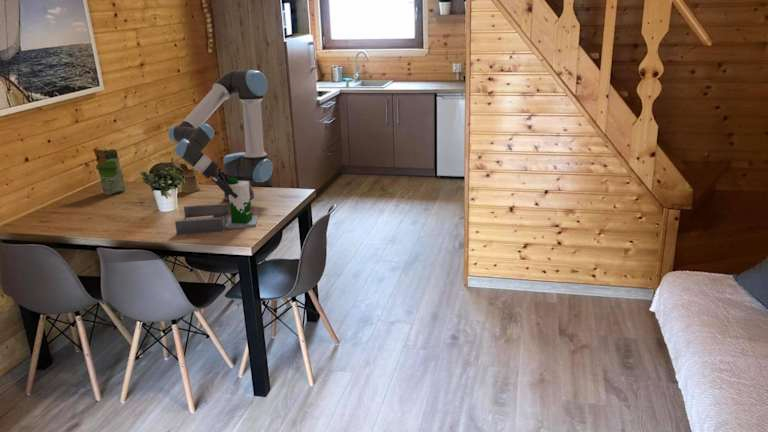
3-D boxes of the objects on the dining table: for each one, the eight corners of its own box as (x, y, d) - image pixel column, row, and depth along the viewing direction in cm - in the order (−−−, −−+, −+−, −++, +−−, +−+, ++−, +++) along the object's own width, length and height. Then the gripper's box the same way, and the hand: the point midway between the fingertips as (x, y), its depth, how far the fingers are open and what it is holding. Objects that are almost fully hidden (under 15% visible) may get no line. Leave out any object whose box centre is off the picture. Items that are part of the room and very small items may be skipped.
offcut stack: (185, 227, 287) (183, 217, 285) (221, 224, 288) (220, 214, 287) (182, 232, 281) (181, 221, 280) (219, 229, 283) (218, 219, 281)
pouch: (127, 193, 343) (119, 147, 334) (103, 197, 337) (95, 151, 328) (123, 188, 352) (115, 144, 343) (100, 192, 346) (91, 147, 337)
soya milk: (236, 217, 294) (231, 175, 288) (255, 217, 292) (250, 176, 286) (228, 223, 286) (223, 181, 280) (247, 224, 284) (242, 181, 278)
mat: (229, 218, 296) (229, 216, 295) (258, 216, 297) (257, 214, 296) (226, 228, 283) (226, 226, 283) (255, 226, 285) (255, 224, 284)
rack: (186, 218, 299) (184, 206, 297) (229, 215, 301) (227, 203, 299) (177, 234, 278) (175, 221, 276) (223, 231, 280) (221, 218, 278)
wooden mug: (180, 187, 349) (175, 155, 343) (202, 188, 346) (198, 156, 340) (171, 192, 341) (166, 160, 335) (194, 193, 338) (189, 160, 332)
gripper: (205, 166, 292) (242, 194, 299) (196, 180, 269) (236, 211, 275) (215, 154, 291) (252, 183, 297) (207, 167, 268) (247, 199, 274)
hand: (244, 196), depth 286 cm, fingers open, 13 cm apart
